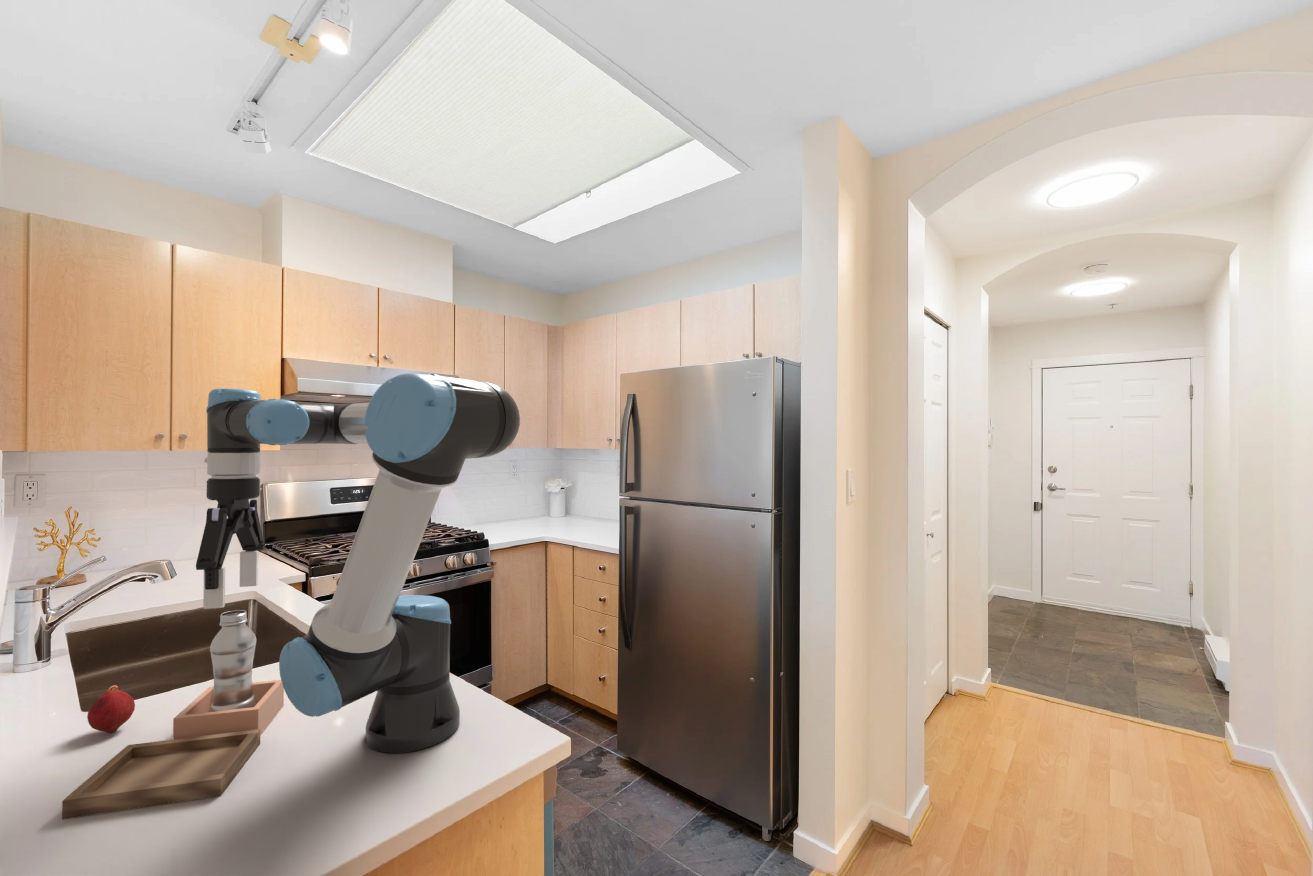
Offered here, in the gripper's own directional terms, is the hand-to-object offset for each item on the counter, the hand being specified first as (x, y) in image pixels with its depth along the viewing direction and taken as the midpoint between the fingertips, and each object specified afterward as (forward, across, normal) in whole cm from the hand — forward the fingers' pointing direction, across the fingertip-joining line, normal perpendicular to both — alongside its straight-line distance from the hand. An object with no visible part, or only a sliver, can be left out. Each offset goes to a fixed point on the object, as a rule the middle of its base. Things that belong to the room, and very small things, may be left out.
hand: (232, 596), depth 99 cm
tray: (+23, +15, -2) cm, 28 cm away
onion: (+23, -3, -19) cm, 30 cm away
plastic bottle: (+23, 0, 0) cm, 23 cm away
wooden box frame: (+23, 0, 0) cm, 23 cm away
